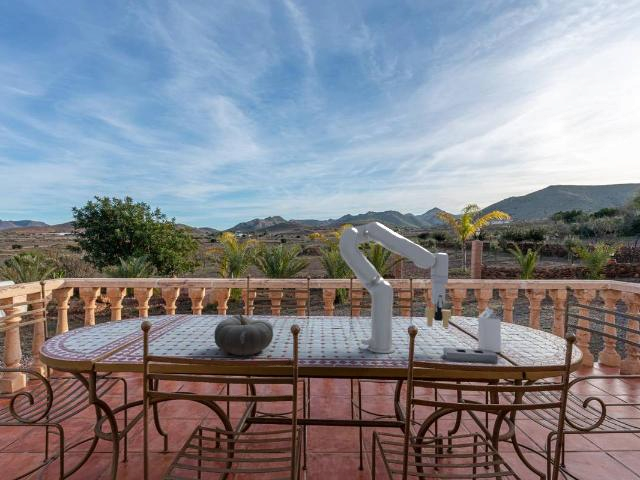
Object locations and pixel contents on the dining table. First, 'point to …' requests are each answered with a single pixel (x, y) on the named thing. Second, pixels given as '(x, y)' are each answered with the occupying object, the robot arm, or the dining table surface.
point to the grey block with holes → (470, 355)
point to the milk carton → (489, 331)
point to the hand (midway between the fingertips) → (437, 319)
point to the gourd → (243, 335)
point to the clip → (431, 314)
